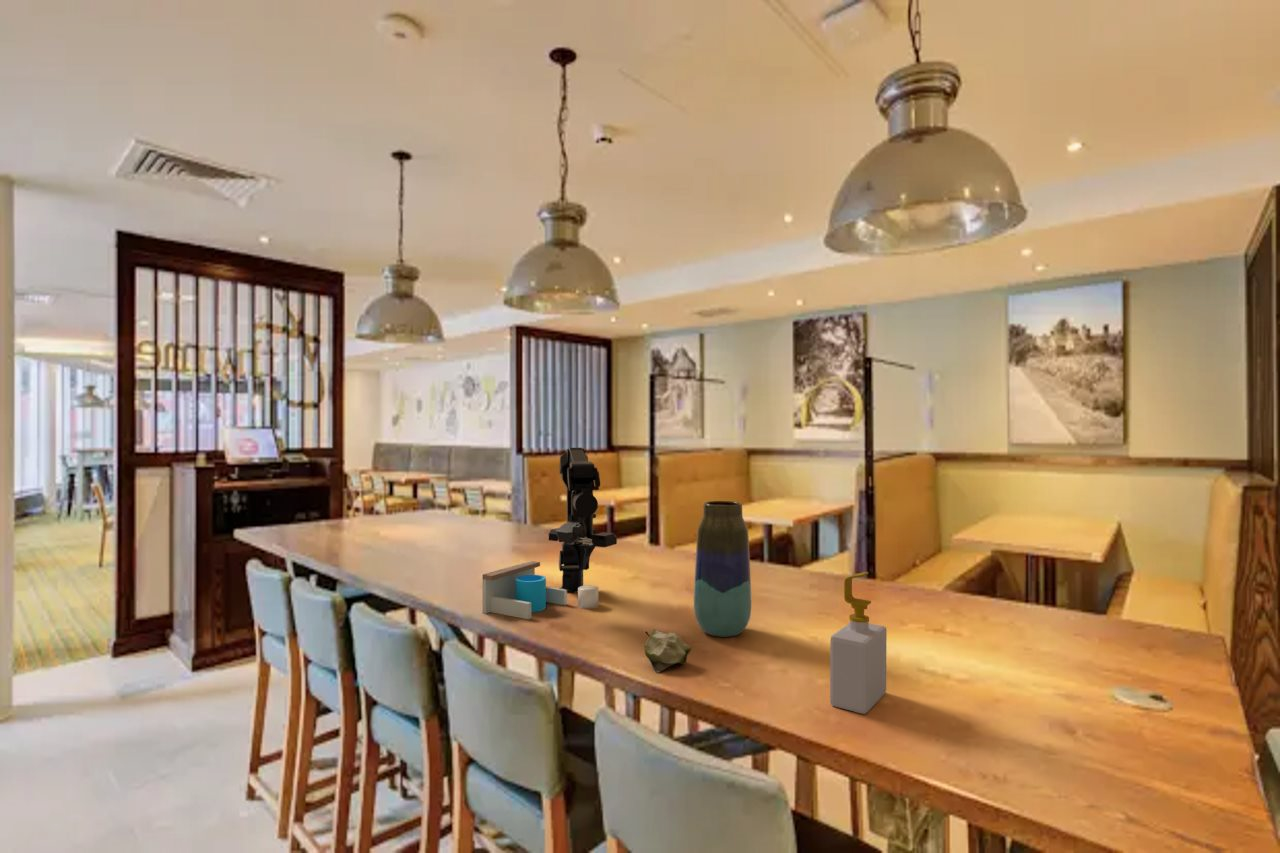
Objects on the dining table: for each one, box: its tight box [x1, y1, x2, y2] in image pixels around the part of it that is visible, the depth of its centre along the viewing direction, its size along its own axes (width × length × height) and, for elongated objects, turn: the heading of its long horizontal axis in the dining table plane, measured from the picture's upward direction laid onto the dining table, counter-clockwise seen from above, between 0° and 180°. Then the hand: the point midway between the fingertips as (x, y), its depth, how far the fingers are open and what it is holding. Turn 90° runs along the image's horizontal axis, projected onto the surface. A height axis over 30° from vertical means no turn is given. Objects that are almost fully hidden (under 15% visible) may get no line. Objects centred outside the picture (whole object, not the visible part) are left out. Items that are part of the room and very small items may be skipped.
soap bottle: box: [829, 571, 888, 715], centre depth 120 cm, size 12×7×23 cm, turn 143°
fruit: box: [644, 628, 692, 674], centre depth 138 cm, size 9×9×8 cm
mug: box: [516, 574, 547, 613], centre depth 181 cm, size 12×8×8 cm
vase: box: [693, 500, 752, 638], centre depth 159 cm, size 14×14×31 cm
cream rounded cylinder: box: [577, 584, 599, 610], centre depth 181 cm, size 6×6×5 cm
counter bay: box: [482, 560, 568, 620], centre depth 179 cm, size 20×14×10 cm
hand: (582, 569), depth 174 cm, fingers closed
